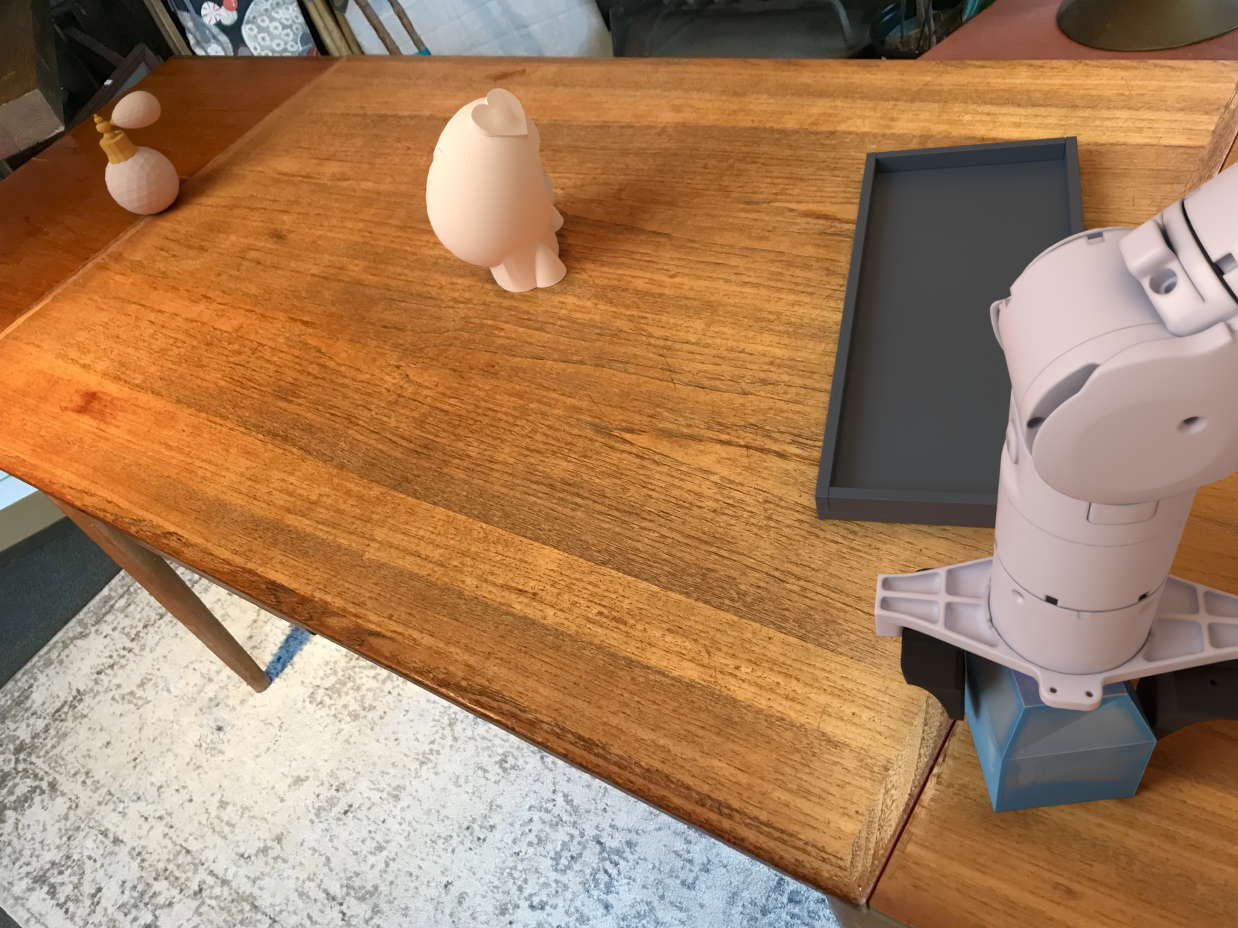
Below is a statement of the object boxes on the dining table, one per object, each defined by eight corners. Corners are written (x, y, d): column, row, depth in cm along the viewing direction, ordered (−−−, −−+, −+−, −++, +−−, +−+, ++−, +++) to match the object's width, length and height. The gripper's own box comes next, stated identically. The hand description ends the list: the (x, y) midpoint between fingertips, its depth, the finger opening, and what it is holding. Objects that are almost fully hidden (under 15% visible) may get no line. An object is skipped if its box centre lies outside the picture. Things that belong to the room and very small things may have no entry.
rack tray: (1073, 161, 73) (1076, 135, 71) (1100, 534, 52) (1106, 509, 50) (868, 176, 78) (866, 152, 77) (817, 519, 57) (814, 496, 56)
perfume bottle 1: (119, 218, 109) (48, 126, 100) (185, 171, 113) (121, 78, 104) (151, 231, 105) (79, 136, 96) (217, 182, 109) (154, 86, 100)
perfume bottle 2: (1085, 675, 47) (1120, 540, 38) (1133, 796, 43) (1184, 675, 34) (959, 693, 48) (965, 564, 39) (994, 812, 44) (1009, 699, 35)
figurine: (456, 315, 80) (380, 163, 69) (459, 239, 88) (391, 92, 77) (581, 281, 79) (523, 121, 68) (573, 207, 86) (520, 52, 75)
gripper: (861, 622, 33) (877, 771, 43) (1351, 666, 28) (1242, 823, 38) (877, 469, 38) (888, 637, 47) (1307, 484, 33) (1219, 668, 42)
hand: (1046, 710), depth 43 cm, fingers closed on perfume bottle 2, 7 cm apart
